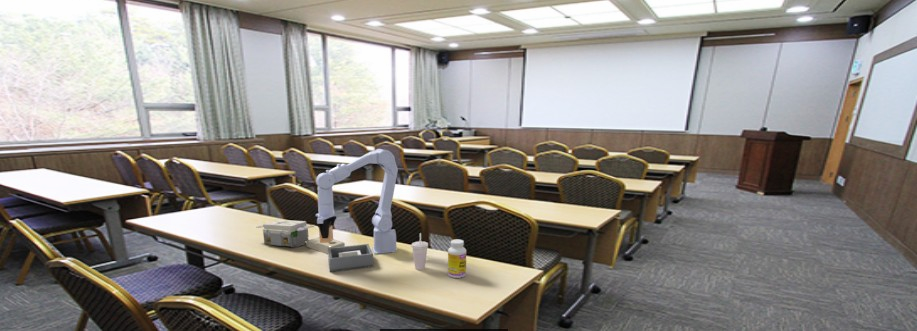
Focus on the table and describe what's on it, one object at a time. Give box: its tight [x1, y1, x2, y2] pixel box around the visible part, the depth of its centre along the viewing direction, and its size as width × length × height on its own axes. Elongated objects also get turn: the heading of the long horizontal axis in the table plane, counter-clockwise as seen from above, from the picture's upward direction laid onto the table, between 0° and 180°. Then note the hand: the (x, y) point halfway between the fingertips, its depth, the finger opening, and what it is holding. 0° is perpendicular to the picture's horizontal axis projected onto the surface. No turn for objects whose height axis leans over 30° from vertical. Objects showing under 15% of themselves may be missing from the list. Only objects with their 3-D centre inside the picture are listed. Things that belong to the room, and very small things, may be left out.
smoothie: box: [411, 232, 429, 271], centre depth 144 cm, size 6×6×14 cm
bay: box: [327, 243, 374, 273], centre depth 149 cm, size 16×13×5 cm
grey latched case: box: [255, 219, 315, 248], centre depth 173 cm, size 12×28×10 cm, turn 66°
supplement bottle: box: [447, 238, 467, 279], centre depth 138 cm, size 7×7×13 cm
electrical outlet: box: [305, 236, 346, 255], centre depth 166 cm, size 7×4×18 cm
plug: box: [318, 225, 334, 243], centre depth 152 cm, size 4×4×7 cm
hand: (327, 236), depth 152 cm, fingers closed on plug, 4 cm apart
